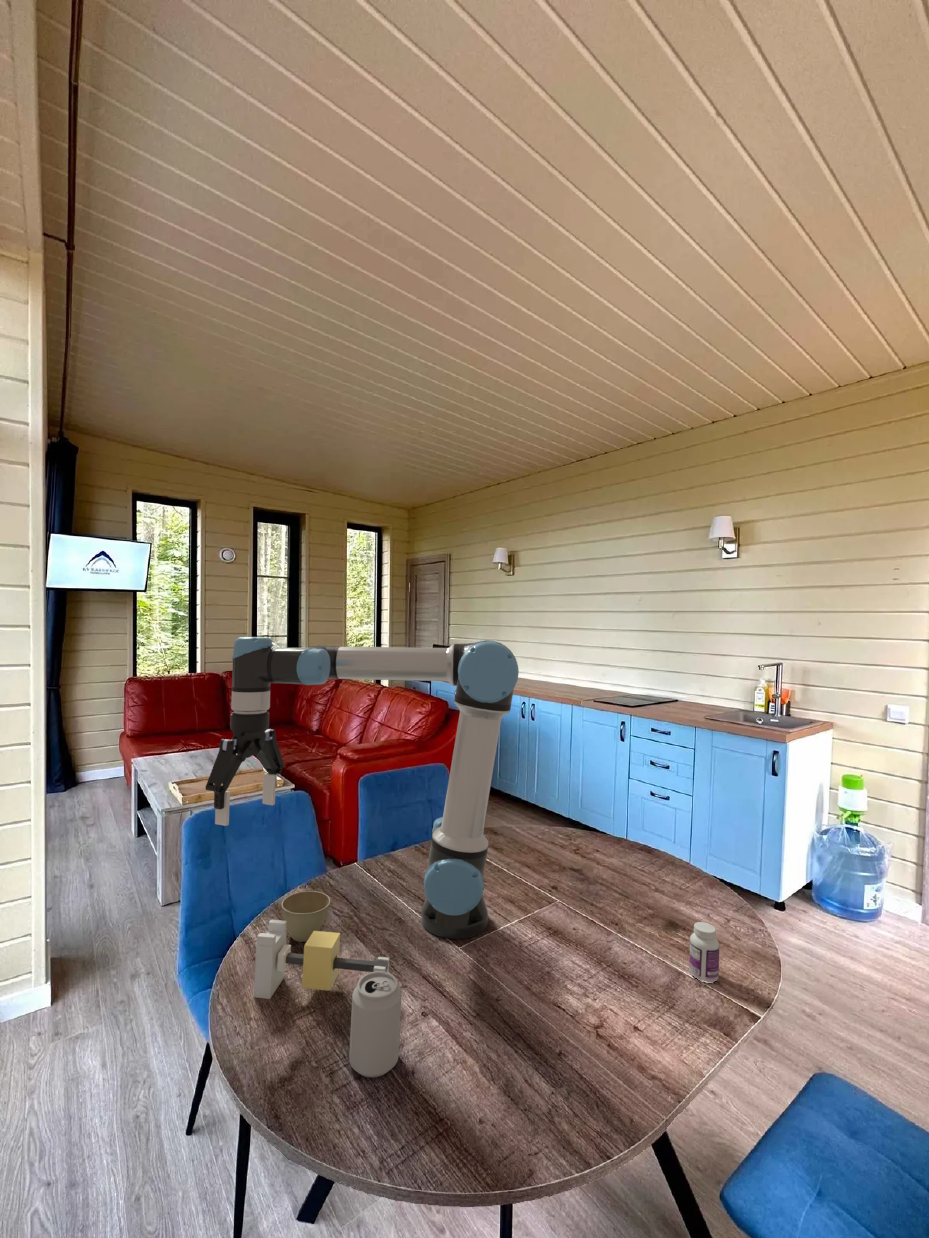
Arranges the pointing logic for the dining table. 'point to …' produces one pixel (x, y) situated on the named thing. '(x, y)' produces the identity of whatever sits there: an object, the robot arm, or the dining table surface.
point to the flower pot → (305, 913)
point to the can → (375, 1024)
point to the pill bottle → (704, 952)
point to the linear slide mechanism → (292, 960)
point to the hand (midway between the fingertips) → (246, 813)
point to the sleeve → (320, 960)
